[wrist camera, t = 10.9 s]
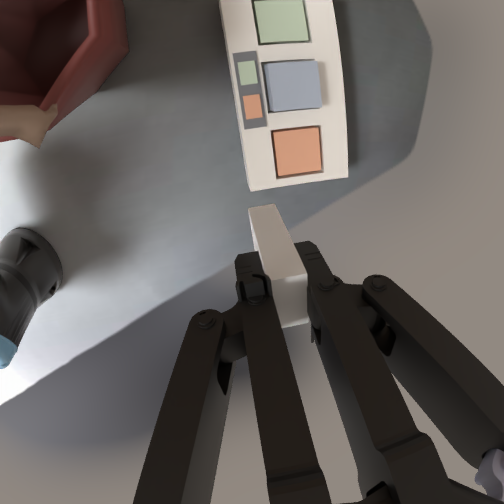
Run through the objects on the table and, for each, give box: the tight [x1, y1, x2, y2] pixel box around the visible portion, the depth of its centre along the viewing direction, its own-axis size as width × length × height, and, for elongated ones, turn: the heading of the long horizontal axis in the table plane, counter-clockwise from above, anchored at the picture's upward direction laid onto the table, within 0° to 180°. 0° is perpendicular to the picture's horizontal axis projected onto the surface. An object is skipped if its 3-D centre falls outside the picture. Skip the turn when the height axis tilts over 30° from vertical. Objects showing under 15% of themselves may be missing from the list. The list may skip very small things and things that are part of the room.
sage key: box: [252, 0, 309, 45], centre depth 28 cm, size 6×6×2 cm
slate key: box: [264, 61, 322, 112], centre depth 31 cm, size 6×6×2 cm
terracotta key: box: [270, 125, 321, 176], centre depth 38 cm, size 6×6×2 cm
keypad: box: [219, 0, 348, 192], centre depth 33 cm, size 14×27×5 cm, turn 8°
